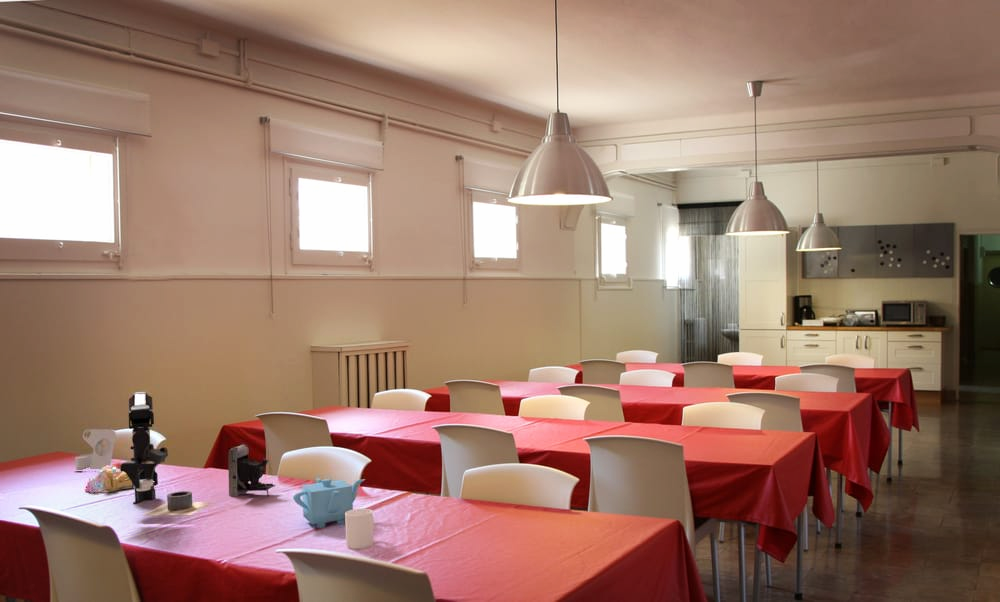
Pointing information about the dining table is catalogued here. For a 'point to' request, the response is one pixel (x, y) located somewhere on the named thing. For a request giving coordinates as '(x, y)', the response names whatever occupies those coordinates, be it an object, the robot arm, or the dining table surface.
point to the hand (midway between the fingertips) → (143, 485)
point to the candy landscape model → (109, 480)
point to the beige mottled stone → (145, 485)
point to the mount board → (164, 510)
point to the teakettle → (327, 500)
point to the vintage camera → (245, 472)
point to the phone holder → (97, 449)
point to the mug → (359, 528)
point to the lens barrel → (179, 500)
